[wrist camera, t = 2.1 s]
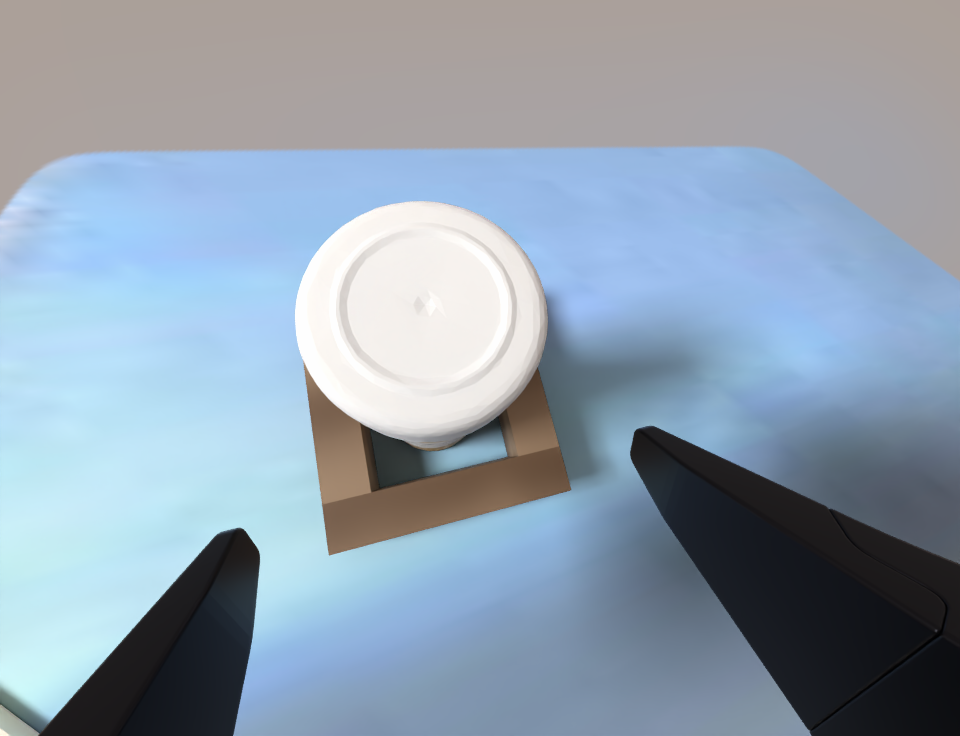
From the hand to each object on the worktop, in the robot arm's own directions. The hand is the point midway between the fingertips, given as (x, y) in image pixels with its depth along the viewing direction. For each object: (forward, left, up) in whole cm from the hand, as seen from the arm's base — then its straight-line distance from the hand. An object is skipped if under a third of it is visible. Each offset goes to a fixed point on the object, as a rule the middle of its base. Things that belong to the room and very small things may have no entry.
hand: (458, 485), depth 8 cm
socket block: (+3, -2, -11) cm, 11 cm away
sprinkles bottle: (+3, -2, -11) cm, 11 cm away
